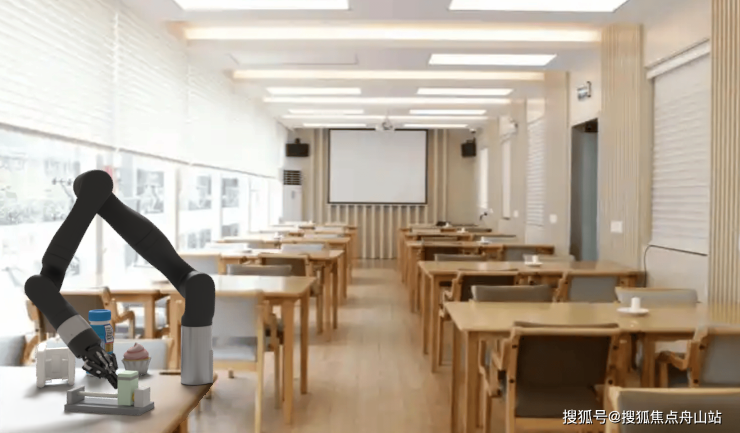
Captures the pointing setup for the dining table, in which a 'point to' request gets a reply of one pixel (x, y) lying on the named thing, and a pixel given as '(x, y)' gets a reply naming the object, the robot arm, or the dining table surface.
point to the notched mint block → (127, 386)
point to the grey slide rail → (108, 402)
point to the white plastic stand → (54, 364)
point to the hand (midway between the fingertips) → (119, 386)
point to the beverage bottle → (102, 328)
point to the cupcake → (136, 359)
